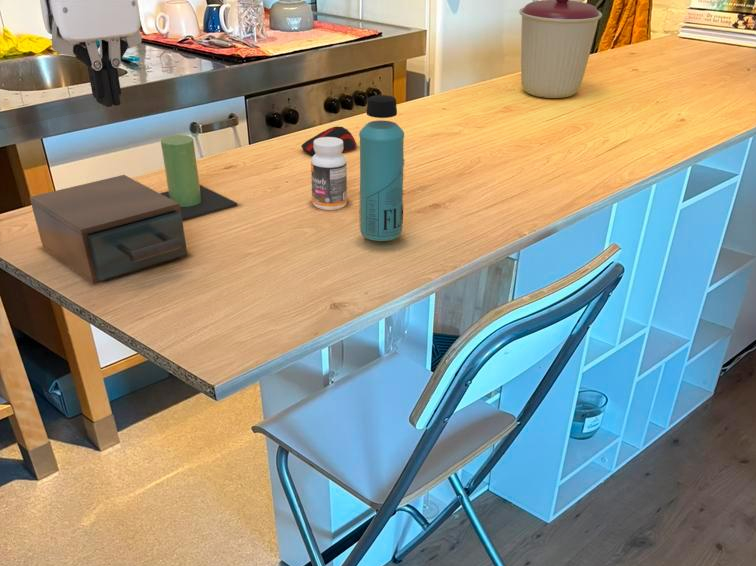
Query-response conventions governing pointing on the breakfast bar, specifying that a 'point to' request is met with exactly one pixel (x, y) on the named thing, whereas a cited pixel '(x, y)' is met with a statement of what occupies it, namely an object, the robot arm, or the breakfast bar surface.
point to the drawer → (137, 244)
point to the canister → (556, 46)
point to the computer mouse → (335, 132)
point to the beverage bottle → (381, 172)
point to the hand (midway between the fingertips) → (108, 103)
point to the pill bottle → (329, 174)
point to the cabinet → (93, 217)
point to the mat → (205, 204)
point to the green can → (181, 169)
